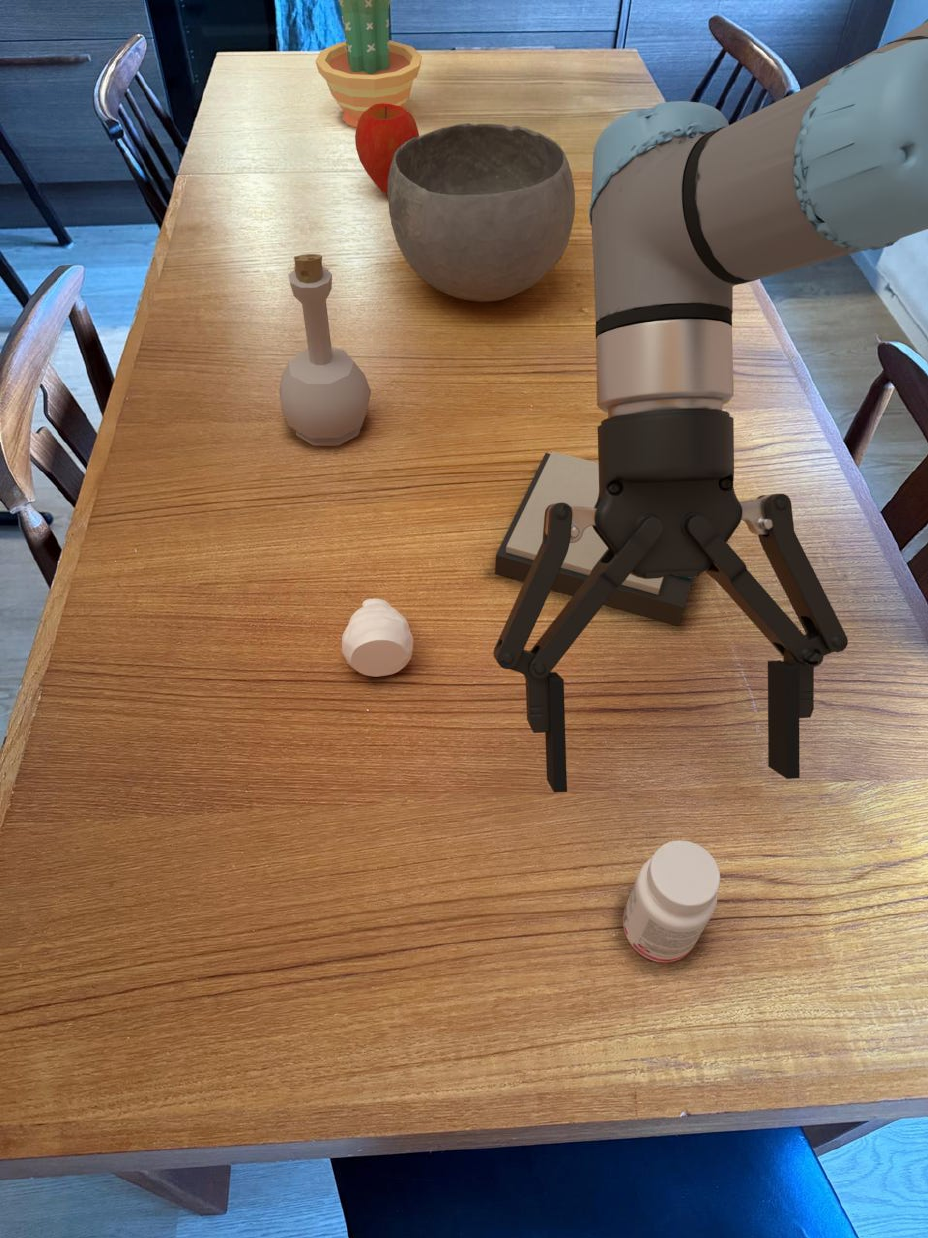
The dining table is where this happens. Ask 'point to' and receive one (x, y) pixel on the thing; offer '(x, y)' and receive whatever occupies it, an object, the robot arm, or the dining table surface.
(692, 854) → the pill bottle
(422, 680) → the dining table surface
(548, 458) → the scale
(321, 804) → the dining table surface
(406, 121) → the apple
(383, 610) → the garlic bulb
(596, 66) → the dining table surface
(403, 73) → the potted cactus
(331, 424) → the potion bottle
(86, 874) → the dining table surface
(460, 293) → the bowl
